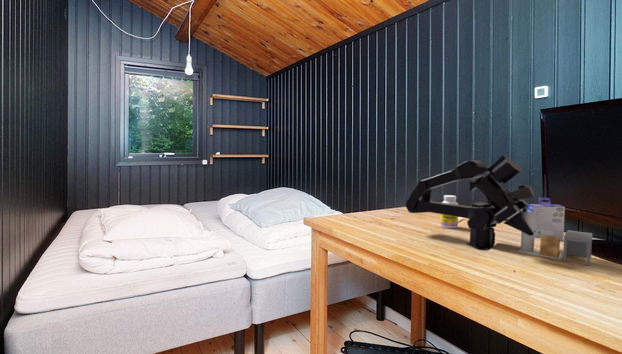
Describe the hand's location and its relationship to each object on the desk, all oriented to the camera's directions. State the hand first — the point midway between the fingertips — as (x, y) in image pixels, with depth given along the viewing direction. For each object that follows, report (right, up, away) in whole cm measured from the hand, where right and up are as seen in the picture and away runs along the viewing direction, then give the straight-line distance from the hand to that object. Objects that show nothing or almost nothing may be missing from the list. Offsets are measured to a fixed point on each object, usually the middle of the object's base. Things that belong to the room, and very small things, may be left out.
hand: (533, 233), depth 95 cm
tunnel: (+7, -7, -6) cm, 12 cm away
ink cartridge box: (+17, -5, +19) cm, 26 cm away
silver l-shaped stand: (+1, -6, -1) cm, 7 cm away
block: (+3, -5, -2) cm, 7 cm away
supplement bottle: (-9, -4, +38) cm, 39 cm away
